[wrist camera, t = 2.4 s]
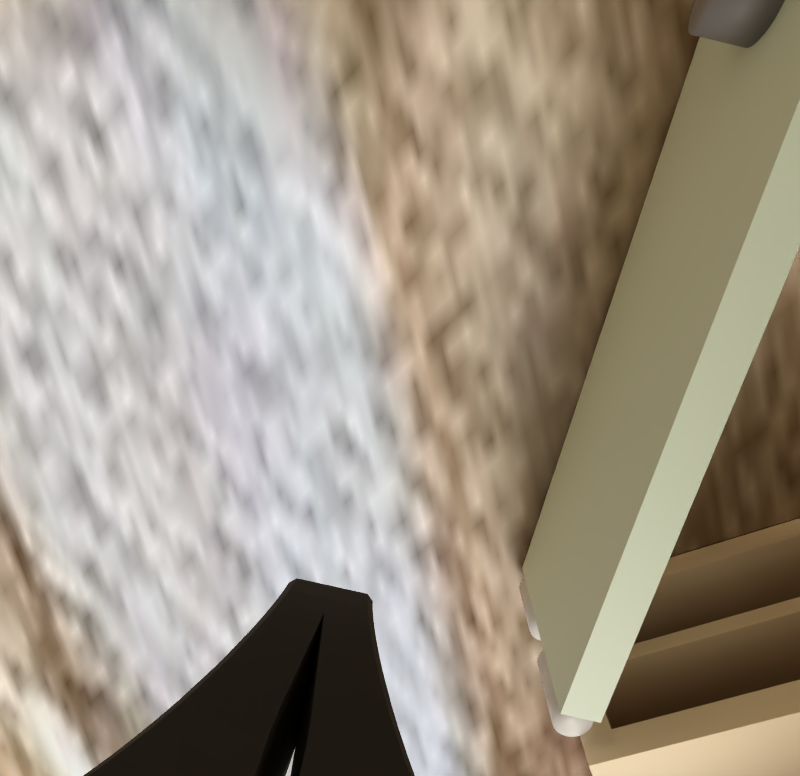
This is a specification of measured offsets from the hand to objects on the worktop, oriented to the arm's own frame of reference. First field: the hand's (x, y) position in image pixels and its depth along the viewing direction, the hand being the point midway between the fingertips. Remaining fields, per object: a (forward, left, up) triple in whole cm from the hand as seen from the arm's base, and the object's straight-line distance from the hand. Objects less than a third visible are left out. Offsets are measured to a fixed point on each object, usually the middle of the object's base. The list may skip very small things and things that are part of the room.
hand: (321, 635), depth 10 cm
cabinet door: (+1, -8, -9) cm, 12 cm away
